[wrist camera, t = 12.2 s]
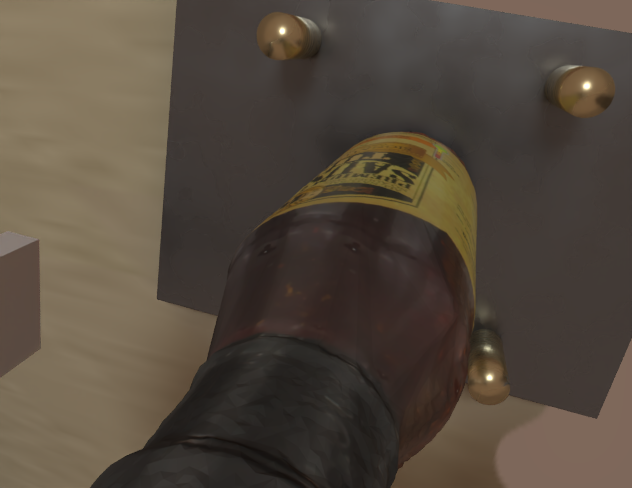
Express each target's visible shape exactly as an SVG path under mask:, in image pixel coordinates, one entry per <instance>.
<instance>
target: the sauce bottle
mask: <svg viewBox="0 0 632 488" xmlns="http://www.w3.org/2000/svg"><path fill="white" fill-rule="evenodd" d="M476 237H477V200H476V193H475V189H474V186H473V184H472V181H471V179H470V176H469V174H468V172H467V169H466V167H465V164H464V162H463V161H462V160H461V159H460V158H459V157H458V156H457V155H456V153H455V152H454V151H453V150H452V149H450V148H449V147H447V146H446V145H444V144H443V143H441V142H440V141H437V140H435V139H433V138H430V137H428V136H427V135H426V134H423V133H419V132H402V131H401V132H391V133H383V134H379V135H375V136H373V137H370V138H367V139H365V140H363V141H361V142H359V143H358V144H356V145H354V146H353V147H351V148H350V149H349V150H348V151H346V152H345V153H344V154H343V155H342V156H340V157H339V158H338V159H337V160H336V161H334V162H333V163H332V164H331V165H330V166H329V167H327V168H326V169H325V170H324V171H323V172H322V173H320V174H319V175H318V176H317V177H315V178H314V179H313V180H312V181H311V182H310V183H308V184H307V185H306V186H304V187H303V188H302V189H301V190H300V191H299V192H297V193H296V194H295V195H294V196H293V197H292V198H291V199H290V200H288V201H287V202H286V203H285V204H284V205H283V206H282V207H280V208H279V209H278V210H277V211H276V212H274V213H273V214H272V215H271V216H269V217H268V218H267V219H266V220H265V221H264V222H262V223H261V224H260V225H259V226H258V227H257V228H256V229H254V230H253V231H252V232H251V233H250V234H249V235H248V236H247V237H246V238H245V239H244V240H243V242H242V243H241V244H240V246H239V247H238V249H237V250H236V252H235V254H234V256H233V258H232V260H231V263H230V265H229V268H228V274H227V282H226V286H225V290H224V294H223V298H222V302H221V306H220V310H219V314H218V317H217V321H216V325H215V329H214V333H213V337H212V341H211V345H210V349H209V353H208V357H207V361H206V362H205V363H204V364H202V365H201V366H200V367H199V369H198V371H197V373H196V375H195V377H194V379H193V382H192V384H191V387H190V390H189V391H188V393H187V394H186V395H185V397H184V398H183V400H182V401H181V402H180V403H179V404H178V405H177V406H176V408H175V409H174V410H173V411H172V412H171V413H170V414H169V415H168V416H167V418H166V419H164V420H163V421H162V423H161V425H160V426H159V428H158V430H157V431H156V432H155V434H154V435H153V436H152V437H151V438H150V439H149V440H148V442H147V443H146V445H145V446H144V448H143V449H142V450H139V451H137V452H134V453H132V454H129V455H127V456H125V457H123V458H122V459H120V460H118V461H117V462H115V463H113V464H112V465H110V466H109V467H108V468H107V469H106V470H105V471H104V472H103V473H102V474H101V475H100V476H99V477H98V479H97V480H96V481H95V482H94V483H93V485H92V486H91V487H90V488H390V487H391V485H392V483H393V481H394V479H395V475H396V473H397V470H398V469H399V468H401V467H402V466H403V464H404V462H405V461H408V460H409V459H410V458H411V457H412V456H414V455H415V454H417V453H418V452H419V451H420V450H422V449H423V448H424V447H425V445H426V444H428V443H429V442H430V441H432V439H433V438H434V437H435V436H436V434H437V433H438V432H439V431H440V430H441V429H442V428H443V426H444V425H445V424H446V422H447V421H448V420H449V418H450V416H451V414H452V412H453V410H454V408H455V406H456V404H457V402H458V400H459V398H460V396H461V393H462V391H463V388H464V385H465V381H466V376H467V374H468V357H469V353H470V342H469V340H470V337H471V334H472V330H473V327H474V318H475V298H476Z"/></svg>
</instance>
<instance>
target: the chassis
mask: <svg viewBox="0 0 632 488" xmlns="http://www.w3.org/2000/svg"><path fill="white" fill-rule="evenodd" d="M401 131H402V132H419V133H423V134H426V135H427V136H428V137H430V138H433V139H435V140H437V141H440V142H441V143H443V144H444V145H446V146H447V147H449V148H450V149H452V150H453V151H454V152H455V153H456V155H457V156H458V157H459V158H460V159H461V160H462V161H463V162H464V164H465V167H466V169H467V172H468V174H469V176H470V179H471V181H472V184H473V186H474V189H475V193H476V200H477V237H476V298H475V318H474V327H473V330H472V334H471V337H470V340H469V342H470V353H469V357H468V374H467V376H466V381H465V383H467V384H468V389H469V393H470V395H471V396H472V397H473V398H474V399H475V400H476V401H478V402H479V403H482V404H486V405H495V404H498V403H501V402H502V401H504V400H505V399H506V398H507V397H508V395H511V396H515V397H519V398H522V399H526V400H530V401H533V402H537V403H541V404H544V405H548V406H552V407H556V408H559V409H563V410H567V411H570V412H574V413H578V414H581V415H585V416H588V417H592V418H596V419H597V417H598V415H599V412H600V410H601V408H602V406H603V403H604V401H605V399H606V396H607V394H608V391H609V389H610V387H611V385H612V382H613V380H614V378H615V375H616V373H617V371H618V369H619V366H620V364H621V362H622V359H623V357H624V355H625V352H626V350H627V348H628V345H629V343H630V341H631V338H632V33H627V32H620V31H614V30H608V29H602V28H596V27H590V26H583V25H578V24H572V23H565V22H559V21H553V20H547V19H541V18H535V17H529V16H523V15H517V14H511V13H504V12H498V11H492V10H486V9H480V8H474V7H468V6H461V5H456V4H450V3H443V2H437V1H431V0H177V8H176V22H175V37H174V52H173V67H172V82H171V96H170V111H169V126H168V141H167V156H166V170H165V185H164V200H163V215H162V230H161V244H160V259H159V274H158V289H157V299H158V300H162V301H165V302H169V303H173V304H176V305H180V306H184V307H187V308H191V309H195V310H198V311H202V312H206V313H209V314H213V315H217V316H218V314H219V310H220V306H221V302H222V298H223V294H224V290H225V286H226V282H227V274H228V268H229V265H230V263H231V260H232V258H233V256H234V254H235V252H236V250H237V249H238V247H239V246H240V244H241V243H242V242H243V240H244V239H245V238H246V237H247V236H248V235H249V234H250V233H251V232H252V231H253V230H254V229H256V228H257V227H258V226H259V225H260V224H261V223H262V222H264V221H265V220H266V219H267V218H268V217H269V216H271V215H272V214H273V213H274V212H276V211H277V210H278V209H279V208H280V207H282V206H283V205H284V204H285V203H286V202H287V201H288V200H290V199H291V198H292V197H293V196H294V195H295V194H296V193H297V192H299V191H300V190H301V189H302V188H303V187H304V186H306V185H307V184H308V183H310V182H311V181H312V180H313V179H314V178H315V177H317V176H318V175H319V174H320V173H322V172H323V171H324V170H325V169H326V168H327V167H329V166H330V165H331V164H332V163H333V162H334V161H336V160H337V159H338V158H339V157H340V156H342V155H343V154H344V153H345V152H346V151H348V150H349V149H350V148H351V147H353V146H354V145H356V144H358V143H359V142H361V141H363V140H365V139H367V138H370V137H373V136H375V135H379V134H383V133H391V132H401Z"/></svg>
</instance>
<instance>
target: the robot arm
mask: <svg viewBox="0 0 632 488" xmlns="http://www.w3.org/2000/svg"><path fill="white" fill-rule="evenodd" d="M40 348H41V341H40V269H39V239H36V238H32V237H28V236H24V235H20V234H16V233H12V232H9V231H7V232H5V233H2V234H0V377H2V376H3V375H5V374H6V373H7V372H9V371H10V370H11V369H13V368H14V367H16V366H17V365H18V364H20V363H21V362H22V361H24V360H25V359H27V358H28V357H29V356H31V355H32V354H34V353H35V352H36V351H38V350H39V349H40Z"/></svg>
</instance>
